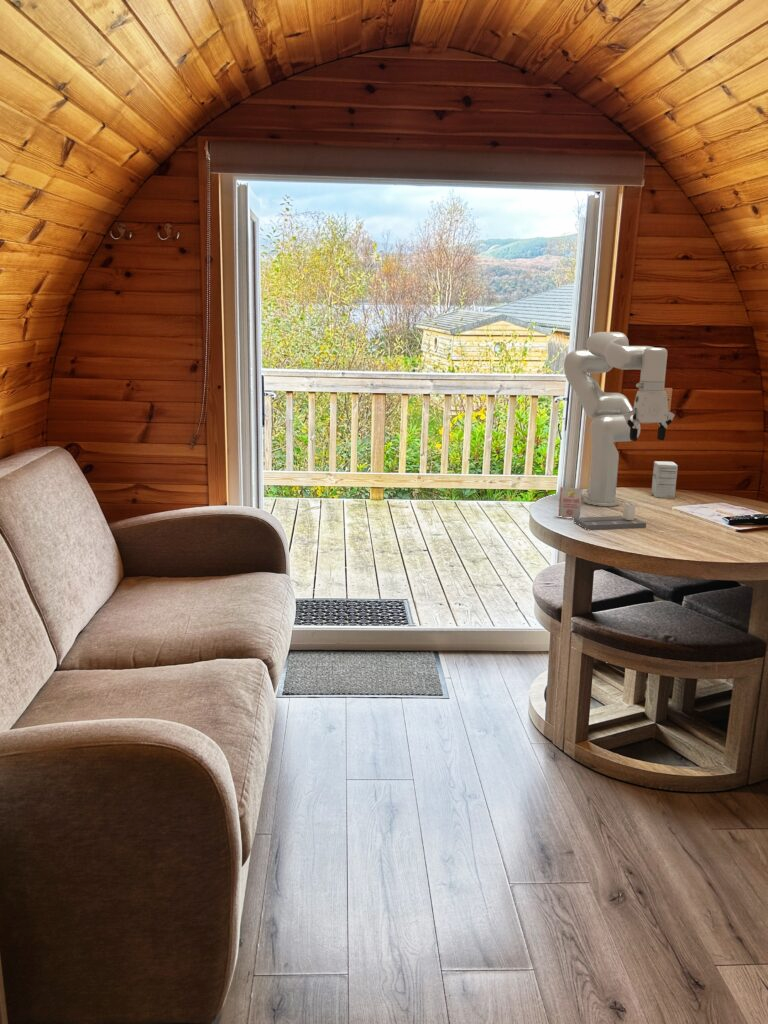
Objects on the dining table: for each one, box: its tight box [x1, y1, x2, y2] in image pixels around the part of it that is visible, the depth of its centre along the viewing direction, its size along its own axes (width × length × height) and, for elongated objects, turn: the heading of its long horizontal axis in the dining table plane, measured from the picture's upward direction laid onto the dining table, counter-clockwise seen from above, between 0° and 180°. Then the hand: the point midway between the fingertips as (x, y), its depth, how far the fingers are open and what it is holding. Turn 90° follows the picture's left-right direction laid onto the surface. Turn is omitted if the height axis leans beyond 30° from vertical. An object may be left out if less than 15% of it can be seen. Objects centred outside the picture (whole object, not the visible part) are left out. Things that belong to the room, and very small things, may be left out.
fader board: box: [573, 515, 647, 530], centre depth 258 cm, size 10×20×2 cm, turn 102°
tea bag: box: [557, 486, 583, 518], centre depth 266 cm, size 4×7×10 cm, turn 73°
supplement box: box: [650, 460, 679, 499], centre depth 301 cm, size 7×7×13 cm
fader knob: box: [622, 501, 637, 520], centre depth 258 cm, size 3×2×5 cm
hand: (647, 440), depth 260 cm, fingers open, 9 cm apart
